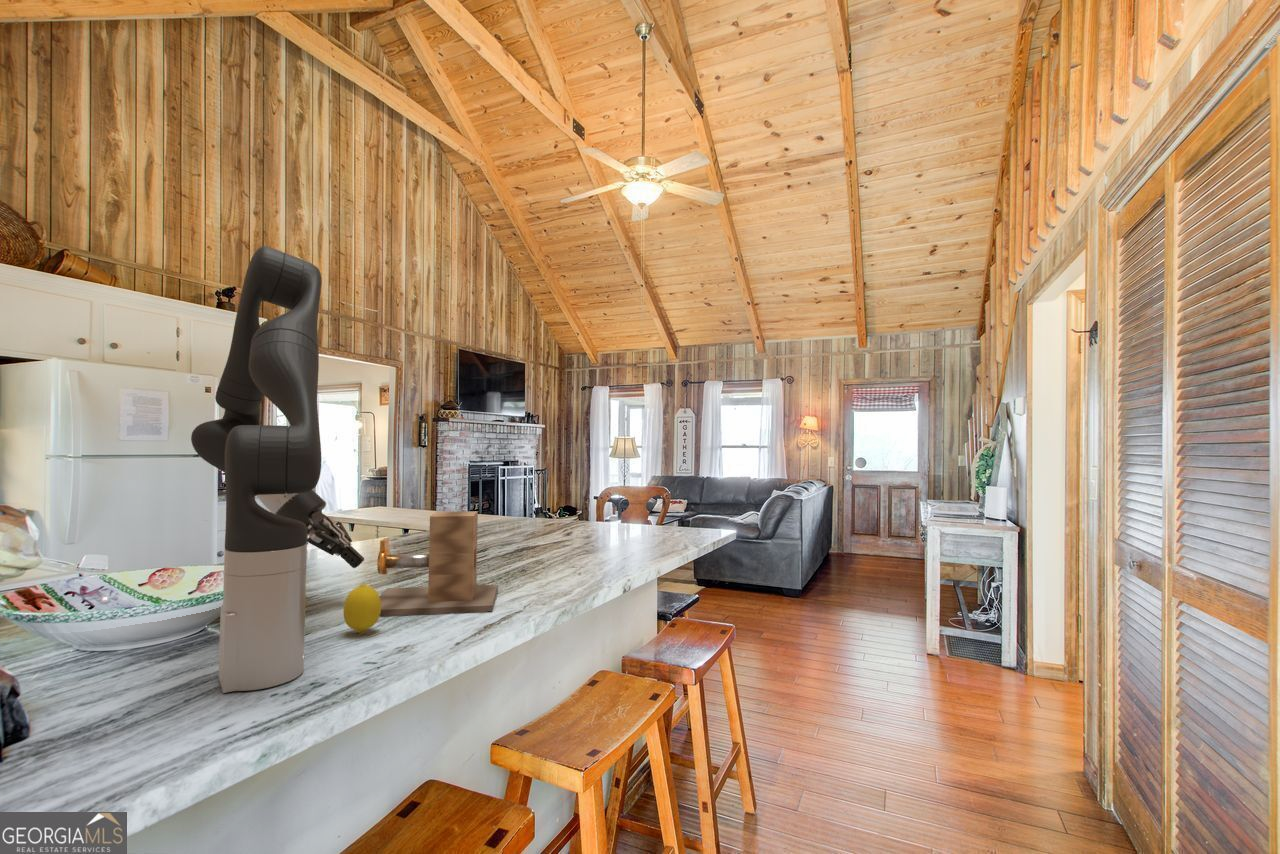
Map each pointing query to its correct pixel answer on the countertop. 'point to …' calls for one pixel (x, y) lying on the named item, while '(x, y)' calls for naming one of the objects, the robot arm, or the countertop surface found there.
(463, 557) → the hitch post
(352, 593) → the lemon
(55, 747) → the countertop surface
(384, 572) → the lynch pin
